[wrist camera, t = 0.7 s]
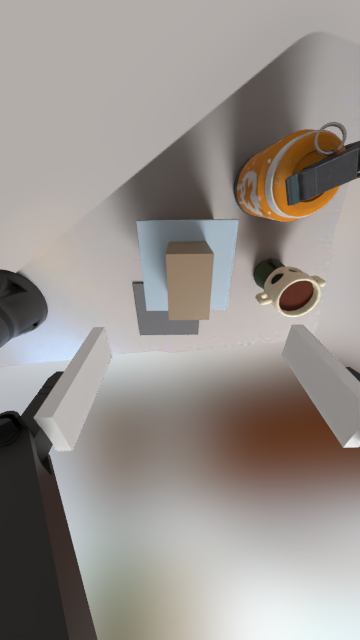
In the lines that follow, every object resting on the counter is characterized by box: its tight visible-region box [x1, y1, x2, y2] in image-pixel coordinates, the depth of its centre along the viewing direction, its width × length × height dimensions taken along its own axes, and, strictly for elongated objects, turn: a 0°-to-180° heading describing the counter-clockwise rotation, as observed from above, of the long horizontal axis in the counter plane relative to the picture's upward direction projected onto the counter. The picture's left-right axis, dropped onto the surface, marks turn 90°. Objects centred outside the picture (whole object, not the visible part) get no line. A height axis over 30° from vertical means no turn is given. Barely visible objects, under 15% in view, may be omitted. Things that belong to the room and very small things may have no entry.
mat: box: [133, 283, 199, 335], centre depth 47 cm, size 15×14×1 cm
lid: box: [136, 219, 239, 320], centre depth 26 cm, size 13×13×9 cm
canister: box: [234, 122, 360, 222], centre depth 26 cm, size 9×11×20 cm
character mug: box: [254, 259, 326, 317], centre depth 37 cm, size 11×7×13 cm, turn 111°
